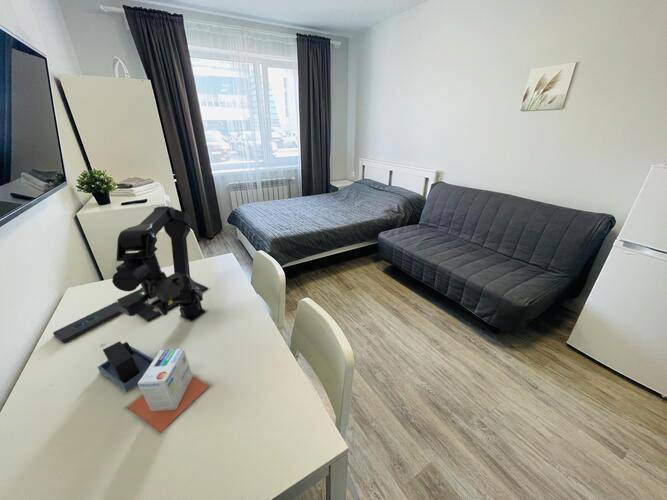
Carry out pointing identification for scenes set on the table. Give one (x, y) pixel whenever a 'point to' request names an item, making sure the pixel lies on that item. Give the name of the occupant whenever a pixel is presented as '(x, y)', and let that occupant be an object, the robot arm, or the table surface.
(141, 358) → the slate tray
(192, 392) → the terracotta mat
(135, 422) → the table surface
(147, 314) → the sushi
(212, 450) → the table surface
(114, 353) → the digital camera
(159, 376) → the light bulb box
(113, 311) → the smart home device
